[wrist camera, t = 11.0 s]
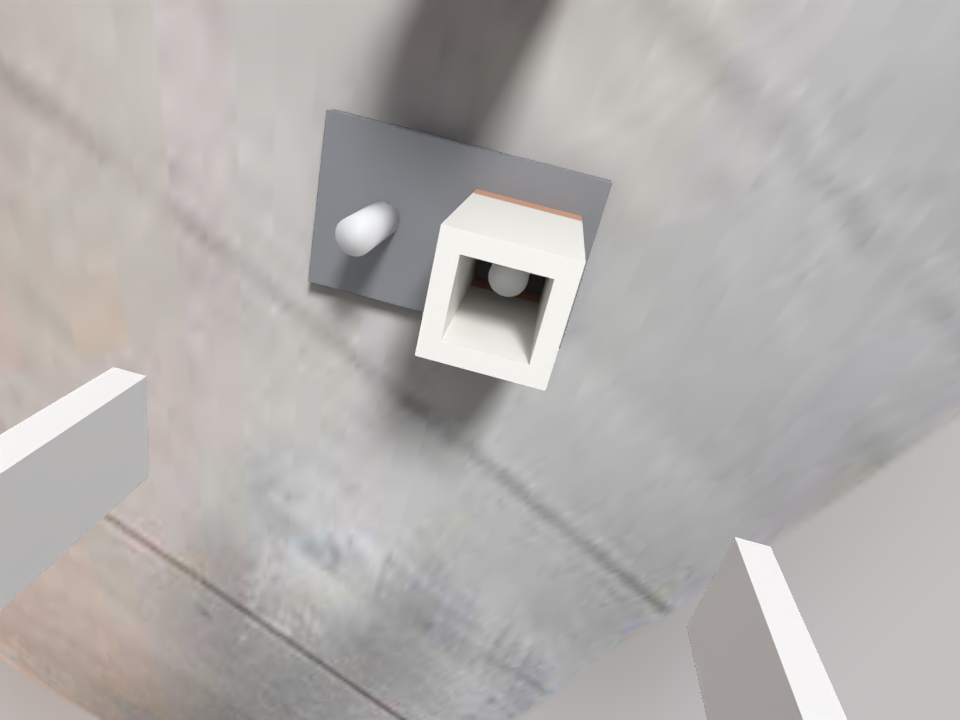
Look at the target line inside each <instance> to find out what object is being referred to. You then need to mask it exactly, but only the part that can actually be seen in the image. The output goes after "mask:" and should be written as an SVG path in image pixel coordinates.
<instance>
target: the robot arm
mask: <svg viewBox="0 0 960 720" xmlns="http://www.w3.org/2000/svg"><path fill="white" fill-rule="evenodd" d="M147 477H148V427H147V376H144V375H140V374H136V373H133V372H129V371H126V370H122V369H118V368H115V367H113V368H111V369H109V370H108V371H106V372H104V373H103V374H101V375H99V376H98V377H96V378H94V379H93V380H91V381H89V382H88V383H86V384H84V385H83V386H81V387H79V388H78V389H76V390H74V391H73V392H71V393H69V394H68V395H66V396H64V397H63V398H61V399H59V400H57V401H56V402H54V403H52V404H51V405H49V406H47V407H46V408H44V409H42V410H41V411H39V412H37V413H36V414H34V415H32V416H31V417H29V418H27V419H26V420H24V421H22V422H21V423H19V424H17V425H16V426H14V427H12V428H11V429H9V430H7V431H6V432H4V433H2V434H1V435H0V611H1V610H2V609H3V608H4V607H5V606H6V605H8V604H9V603H10V602H11V601H12V600H13V599H14V598H15V597H16V596H17V595H19V594H20V593H21V592H22V591H23V590H24V589H25V588H26V587H27V586H28V585H30V584H31V583H32V582H33V581H34V580H35V579H36V578H37V577H38V576H39V575H41V574H42V573H43V572H44V571H45V570H46V569H47V568H48V567H49V566H50V565H52V564H53V563H54V562H55V561H56V560H57V559H58V558H59V557H60V556H61V555H63V554H64V553H65V552H66V551H67V550H68V549H69V548H70V547H71V546H73V545H74V544H75V543H76V542H77V541H78V540H79V539H80V538H81V537H82V536H84V535H85V534H86V533H87V532H88V531H89V530H90V529H91V528H92V527H93V526H95V525H96V524H97V523H98V522H99V521H100V520H101V519H102V518H103V517H104V516H106V515H107V514H108V513H109V512H110V511H111V510H112V509H113V508H114V507H115V506H117V505H118V504H119V503H120V502H121V501H122V500H123V499H124V498H125V497H126V496H128V495H129V494H130V493H131V492H132V491H133V490H134V489H135V488H136V487H137V486H139V485H140V484H141V483H142V482H143V481H144V480H145V479H146V478H147ZM687 630H688V634H689V639H690V644H691V648H692V653H693V658H694V662H695V667H696V671H697V675H698V680H699V685H700V689H701V694H702V698H703V703H704V707H705V712H706V717H707V720H847V718H846V716H845V714H844V712H843V709H842V707H841V705H840V703H839V700H838V698H837V696H836V694H835V691H834V689H833V687H832V685H831V682H830V680H829V678H828V676H827V673H826V671H825V669H824V667H823V664H822V662H821V660H820V658H819V655H818V653H817V651H816V649H815V646H814V644H813V642H812V640H811V638H810V635H809V633H808V631H807V628H806V626H805V624H804V622H803V619H802V617H801V615H800V613H799V610H798V608H797V606H796V604H795V601H794V599H793V597H792V595H791V592H790V590H789V588H788V586H787V583H786V581H785V579H784V577H783V574H782V572H781V570H780V568H779V565H778V563H777V561H776V559H775V556H774V554H773V552H772V550H771V547H769V546H765V545H762V544H758V543H755V542H751V541H747V540H744V539H740V538H736V537H735V538H734V540H733V541H732V543H731V545H730V547H729V549H728V551H727V553H726V554H725V556H724V558H723V560H722V562H721V564H720V566H719V567H718V569H717V571H716V573H715V575H714V577H713V579H712V580H711V582H710V584H709V586H708V588H707V590H706V592H705V593H704V595H703V597H702V599H701V601H700V603H699V605H698V606H697V608H696V610H695V612H694V614H693V616H692V618H691V619H690V621H689V623H688V625H687Z"/></svg>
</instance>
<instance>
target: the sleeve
mask: <svg viewBox="0 0 960 720" xmlns="http://www.w3.org/2000/svg"><path fill="white" fill-rule="evenodd" d="M479 259H480V260H484V261H487V262H491V263H495V264H499V265H502V266H506V267H510V268H514V269H518V270H521V271H525V272H529V273H533V274H537V275H540V276H544V277H545V280H544V284H543V287H542V291H541V294H540V295H537V294H533V293H530V292H526V291H522V292H521V293H520V294H518V295H516V296H512V297H505V296H501V295H499V294H497V293H496V292H495V291H494V290H493V289H492V288H491V286H490V284H489V282H488V281H484V280H481V279H477V278H475V274H476V270H477V265H478V261H479ZM585 263H586V259H585V247H584V236H583V224H582V216H579V215H575V214H572V213H568V212H564V211H560V210H556V209H552V208H548V207H545V206H541V205H537V204H533V203H529V202H525V201H522V200H518V199H514V198H510V197H506V196H502V195H498V194H495V193H491V192H487V191H483V190H479V189H476V190H475V191H474V192H473V193H472V194H471V195H470V196H469V197H468V198H467V199H466V200H465V201H464V202H463V203H462V204H461V205H460V206H459V207H458V208H457V209H456V210H455V211H454V212H453V213H452V214H451V215H450V216H449V217H448V218H447V219H446V220H445V221H444V222H443V223H442V224H441V227H440V232H439V237H438V242H437V247H436V252H435V257H434V262H433V267H432V272H431V277H430V282H429V287H428V292H427V297H426V302H425V307H424V312H423V317H422V322H421V327H420V332H419V337H418V342H417V347H416V352H415V356H418V357H422V358H426V359H429V360H433V361H437V362H440V363H444V364H448V365H452V366H455V367H459V368H463V369H466V370H470V371H474V372H477V373H481V374H485V375H489V376H492V377H496V378H500V379H503V380H507V381H511V382H514V383H518V384H522V385H525V386H529V387H533V388H537V389H540V390H544V391H545V390H546V387H547V384H548V381H549V378H550V374H551V371H552V368H553V365H554V362H555V359H556V355H557V352H558V349H559V346H560V343H561V339H562V336H563V333H564V330H565V327H566V324H567V320H568V317H569V314H570V311H571V308H572V304H573V301H574V298H575V295H576V292H577V289H578V285H579V282H580V279H581V276H582V273H583V269H584V266H585Z"/></svg>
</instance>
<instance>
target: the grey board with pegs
mask: <svg viewBox="0 0 960 720" xmlns="http://www.w3.org/2000/svg"><path fill="white" fill-rule="evenodd" d="M611 185H612V183H611V181H610V180H606V179H602V178H599V177H595V176H591V175H587V174H583V173H579V172H575V171H571V170H567V169H564V168H560V167H556V166H552V165H548V164H544V163H540V162H536V161H532V160H529V159H525V158H521V157H517V156H513V155H509V154H505V153H501V152H498V151H494V150H490V149H486V148H482V147H478V146H474V145H470V144H466V143H463V142H459V141H455V140H451V139H447V138H443V137H439V136H435V135H431V134H428V133H424V132H420V131H416V130H412V129H408V128H404V127H400V126H397V125H393V124H389V123H385V122H381V121H377V120H373V119H369V118H365V117H362V116H358V115H354V114H350V113H346V112H342V111H338V110H326V119H325V128H324V137H323V147H322V156H321V166H320V175H319V185H318V194H317V203H316V213H315V222H314V232H313V241H312V250H311V260H310V269H309V279H308V281H309V282H313V283H316V284H320V285H324V286H327V287H331V288H335V289H339V290H342V291H346V292H350V293H354V294H357V295H361V296H365V297H369V298H372V299H376V300H380V301H383V302H387V303H391V304H395V305H398V306H402V307H406V308H410V309H413V310H417V311H421V312H424V307H425V302H426V297H427V292H428V287H429V282H430V277H431V272H432V267H433V262H434V257H435V252H436V247H437V242H438V237H439V232H440V227H441V224H442V223H443V222H444V221H445V220H446V219H447V218H448V217H449V216H450V215H451V214H452V213H453V212H454V211H455V210H456V209H457V208H458V207H459V206H460V205H461V204H462V203H463V202H464V201H465V200H466V199H467V198H468V197H469V196H470V195H471V194H472V193H473V192H474V191H475V190H476V189H479V190H483V191H487V192H491V193H495V194H498V195H502V196H506V197H510V198H514V199H518V200H522V201H525V202H529V203H533V204H537V205H541V206H545V207H548V208H552V209H556V210H560V211H564V212H568V213H572V214H575V215H579V216H582V224H583V236H584V247H585V259H586V263H585V266H584V269H583V273H582V276H581V279H580V282H579V285H578V289H579V286H580V283H581V280H582V277H583V274H584V270H585V267H586V264H587V261H588V258H589V255H590V251H591V248H592V245H593V242H594V239H595V236H596V232H597V229H598V226H599V223H600V220H601V217H602V213H603V210H604V207H605V204H606V201H607V198H608V194H609V191H610V188H611ZM475 278H477V279H481V280H484V281H488V282H489V284H490V286H491V288H492V289H493V290H494V291H495V292H496V293H497V294H499V295H501V296H505V297H512V296H516V295H518V294H520V293H521V292H522V291H526V292H530V293H533V294H537V295H540V294H541V291H542V287H543V284H544V280H545V277H544V276H540V275H537V274H533V273H529V272H525V271H521V270H518V269H514V268H510V267H506V266H502V265H499V264H495V263H491V262H487V261H484V260H480V259H479V261H478V265H477V270H476V274H475ZM578 289H577V292H576V295H575V298H574V301H573V304H572V308H571V311H570V314H569V317H568V320H567V324H568V321H569V318H570V315H571V312H572V309H573V305H574V302H575V299H576V296H577V293H578ZM567 324H566V327H565V330H564V333H563V336H562V339H561V343H562V340H563V337H564V334H565V331H566V328H567ZM561 343H560V346H559V349H560V347H561Z"/></svg>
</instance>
